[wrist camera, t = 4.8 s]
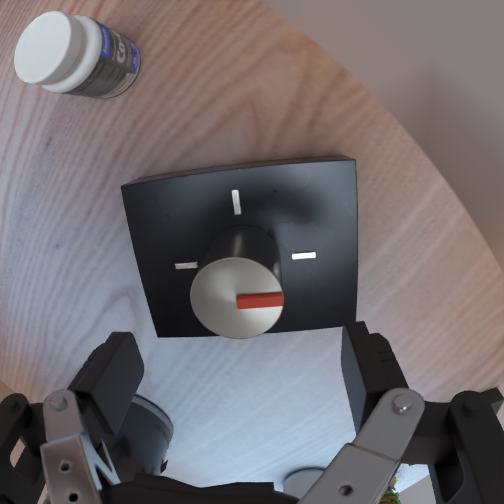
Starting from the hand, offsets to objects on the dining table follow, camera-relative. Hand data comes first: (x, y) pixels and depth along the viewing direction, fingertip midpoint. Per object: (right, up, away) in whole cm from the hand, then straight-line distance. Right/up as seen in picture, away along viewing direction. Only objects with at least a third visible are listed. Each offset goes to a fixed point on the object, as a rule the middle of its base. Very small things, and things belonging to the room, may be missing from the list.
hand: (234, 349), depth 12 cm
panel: (0, +4, +11) cm, 12 cm away
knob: (0, +3, +8) cm, 9 cm away
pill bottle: (-9, +17, +7) cm, 20 cm away
